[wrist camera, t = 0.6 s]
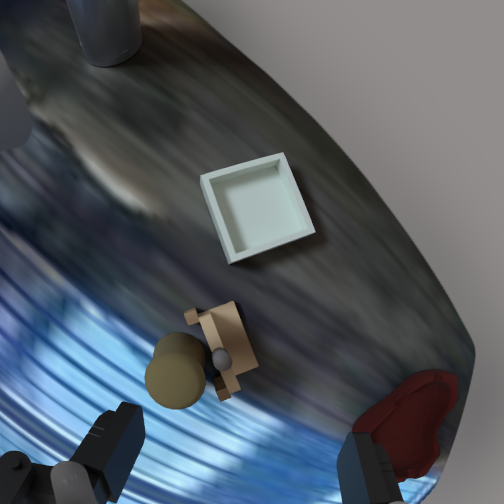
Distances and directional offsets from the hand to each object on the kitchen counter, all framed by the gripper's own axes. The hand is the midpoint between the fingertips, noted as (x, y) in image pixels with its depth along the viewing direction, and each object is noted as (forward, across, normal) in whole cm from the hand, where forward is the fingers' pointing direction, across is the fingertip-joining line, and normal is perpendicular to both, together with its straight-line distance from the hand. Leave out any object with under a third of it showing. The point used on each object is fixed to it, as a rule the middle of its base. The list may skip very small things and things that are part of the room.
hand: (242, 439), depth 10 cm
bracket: (+23, +3, +9) cm, 25 cm away
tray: (+29, +2, -5) cm, 29 cm away
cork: (+21, +8, +11) cm, 25 cm away
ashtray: (+24, -22, +21) cm, 39 cm away
